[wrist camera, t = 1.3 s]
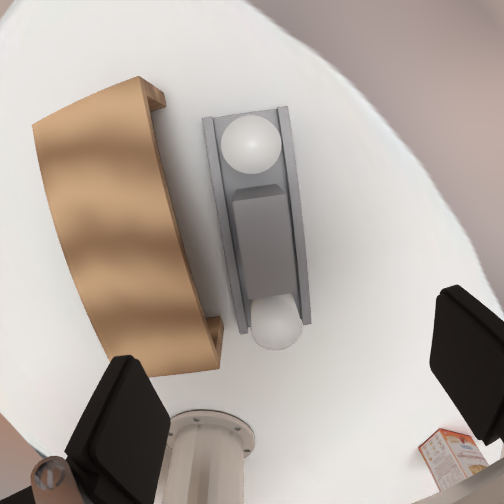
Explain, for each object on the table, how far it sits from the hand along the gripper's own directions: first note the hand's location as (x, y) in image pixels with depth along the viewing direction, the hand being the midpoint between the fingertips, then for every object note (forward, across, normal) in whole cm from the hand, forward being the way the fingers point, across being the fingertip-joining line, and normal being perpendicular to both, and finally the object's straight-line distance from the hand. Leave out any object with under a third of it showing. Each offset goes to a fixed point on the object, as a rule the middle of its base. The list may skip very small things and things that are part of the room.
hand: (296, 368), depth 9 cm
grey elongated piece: (+21, 0, +1) cm, 21 cm away
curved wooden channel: (+21, +11, -1) cm, 24 cm away
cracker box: (+21, -27, +49) cm, 59 cm away
